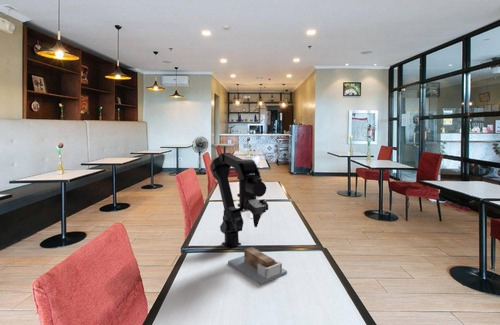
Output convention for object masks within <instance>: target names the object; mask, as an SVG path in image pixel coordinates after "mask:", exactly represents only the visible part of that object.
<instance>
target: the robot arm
mask: <svg viewBox="0 0 500 325" xmlns="http://www.w3.org/2000/svg"><path fill="white" fill-rule="evenodd" d="M231 167H232V168H234V170H235V173H236V174H237V175H238V176H237V177H236V179H237V180H238V183H239V184H238V187H239V189H238V192H239V193H237V194H236V196H237V197H238V198H239V200H238V201H239V203H237V207H236V205H235V201H234V197H233V194H232V189H231V185H230V181H229V177H230V176H229V175H230V173H231V171H230V169H231ZM209 168H210V171H211V175H212V177H213V178H214V179H215V180H216V181H217V184H218V189H219V192H220V197H221V201H222V205H223V216H222V223H221V224H220V226H219V228H220V230H219V231H220V233H222V234H224V241H223V242H221V244H222V245H223V246H225V247H226V248H228V249H232V248H235V247H239V246H241V245H242V243H241V242H239V240H240V239H239V232H242V231H243V227H244V218H243V216H242V213H245V212H250V213H251V214H252V220H253V225H254V226H253V227H254V228H257V227H258V225H259V223H260V219H261V216H262V215H263V214H264V213H266V212H267V211H269V204H268V202H267V199H264V198H263V199H257V198H261V197H263V196H264V195H265V194H266V192H267V185H266V184H265V183H264V182H263V178H262V177H261V173H260V170H259V168H258V166H257V164H256V162H255V160H254V159H253V160H252V159H243V158H240V157H238V156H236V155H234V154H233V153H230V152H221V153H220V154H219V156H217V157H216V158H214V159H213V160H212V161H211V164H210V166H209Z"/></svg>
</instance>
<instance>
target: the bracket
mask: <svg viewBox="0 0 500 325" xmlns="http://www.w3.org/2000/svg"><path fill="white" fill-rule="evenodd" d="M274 260H275V265H273V266H270V267H267V268H266V267H265V266H263V265H261V264H258V270H257V269H255V268H254V267H252V266H251V265H249V264H247V263H246V262H244V255H241V256H238V257H236V258H233V259H230V260H228V261H227V264H228V265H230V266H232V268H234V269H236V270H238V271H239V272H241V273H243V274H244V275H245V276H247V277H249V278H251V279H252V280H254V281H255V282H257V283H258V284H260V285H263V284H266V283H268V282H270V281H273V280H275V279H278V278H279V277H282V276H285V275H287V274H288V270H286V269H285V268H283V263H282V262H281V261H278V260H276V259H274Z"/></svg>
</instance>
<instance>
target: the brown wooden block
mask: <svg viewBox="0 0 500 325" xmlns="http://www.w3.org/2000/svg"><path fill="white" fill-rule="evenodd" d="M243 250H244V252H243V253H244V255H243V256H244V262H246V263H247V264H249V265H251V266H252V267H254V268H255V269H257V270H258V264H261V265H263V266H265V267H266V268H267V267H270V266H273V265H275V260H276V259H274V258H272V257H270V256H268V255H267V254H265V253H263V252H262V251H260V250H258V249H256V248H254V247H253V246H251V247H246V248H244V249H243Z"/></svg>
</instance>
